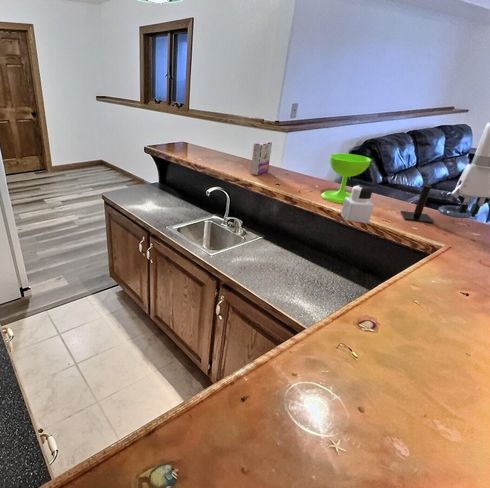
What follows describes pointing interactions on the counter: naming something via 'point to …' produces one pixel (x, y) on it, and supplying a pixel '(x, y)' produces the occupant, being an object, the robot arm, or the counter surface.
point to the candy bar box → (261, 157)
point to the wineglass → (345, 173)
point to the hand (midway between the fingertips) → (466, 215)
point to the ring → (448, 212)
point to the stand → (419, 208)
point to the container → (358, 205)
